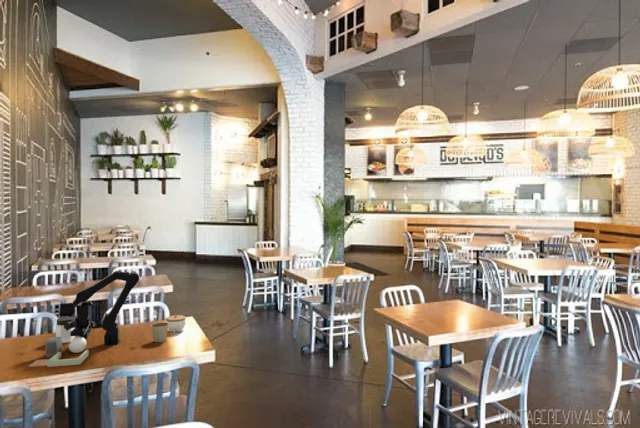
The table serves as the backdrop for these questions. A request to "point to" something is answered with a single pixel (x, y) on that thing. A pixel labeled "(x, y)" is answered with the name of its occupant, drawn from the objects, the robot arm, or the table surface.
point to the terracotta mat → (39, 363)
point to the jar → (61, 331)
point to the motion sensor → (77, 344)
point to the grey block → (53, 346)
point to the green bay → (66, 360)
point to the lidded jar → (176, 322)
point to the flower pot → (159, 331)
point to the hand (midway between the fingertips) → (83, 345)
